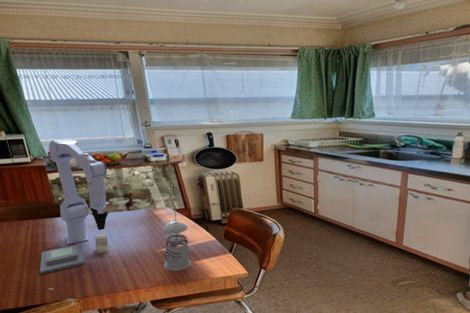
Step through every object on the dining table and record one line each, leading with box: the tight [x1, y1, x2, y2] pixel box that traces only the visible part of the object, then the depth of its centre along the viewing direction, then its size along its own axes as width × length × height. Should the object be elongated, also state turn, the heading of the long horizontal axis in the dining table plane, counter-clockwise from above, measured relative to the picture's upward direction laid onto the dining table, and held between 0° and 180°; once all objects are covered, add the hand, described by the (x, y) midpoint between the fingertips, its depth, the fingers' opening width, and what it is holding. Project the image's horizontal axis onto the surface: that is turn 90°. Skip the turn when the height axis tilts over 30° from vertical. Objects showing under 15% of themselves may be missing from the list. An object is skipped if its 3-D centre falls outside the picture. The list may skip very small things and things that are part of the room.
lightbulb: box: [165, 220, 181, 244], centre depth 128 cm, size 6×6×11 cm
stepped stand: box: [39, 243, 86, 275], centre depth 120 cm, size 18×14×3 cm
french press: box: [160, 196, 192, 272], centre depth 113 cm, size 10×12×25 cm
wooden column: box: [94, 233, 109, 255], centre depth 126 cm, size 4×4×6 cm
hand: (100, 226), depth 125 cm, fingers open, 7 cm apart
